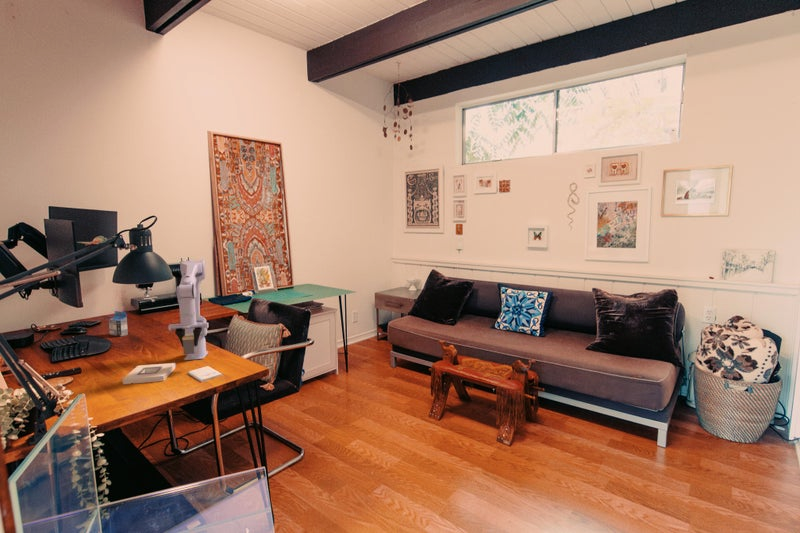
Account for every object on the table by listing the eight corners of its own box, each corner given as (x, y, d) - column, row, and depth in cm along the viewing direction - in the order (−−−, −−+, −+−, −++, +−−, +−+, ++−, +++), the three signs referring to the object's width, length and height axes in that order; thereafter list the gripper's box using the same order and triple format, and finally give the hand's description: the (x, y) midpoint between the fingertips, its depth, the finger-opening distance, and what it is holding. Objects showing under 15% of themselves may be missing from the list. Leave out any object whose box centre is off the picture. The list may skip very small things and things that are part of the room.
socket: (138, 370, 166) (137, 365, 166) (175, 367, 169) (175, 362, 169) (122, 384, 152) (122, 378, 152) (163, 380, 155) (163, 375, 155)
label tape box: (109, 335, 214) (107, 312, 213) (116, 333, 218) (114, 310, 216) (121, 336, 211) (119, 313, 210) (128, 334, 215) (126, 312, 214)
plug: (186, 351, 168) (185, 334, 167) (197, 350, 169) (196, 334, 168) (183, 354, 164) (182, 337, 163) (194, 353, 165) (193, 336, 164)
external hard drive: (208, 369, 169) (222, 377, 161) (188, 375, 163) (201, 383, 154) (208, 365, 168) (222, 373, 160) (187, 371, 162) (201, 379, 154)
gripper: (164, 316, 159) (167, 350, 161) (204, 315, 162) (206, 347, 164) (170, 312, 166) (173, 344, 168) (208, 310, 169) (210, 342, 171)
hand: (190, 345), depth 166 cm, fingers closed on plug, 4 cm apart
